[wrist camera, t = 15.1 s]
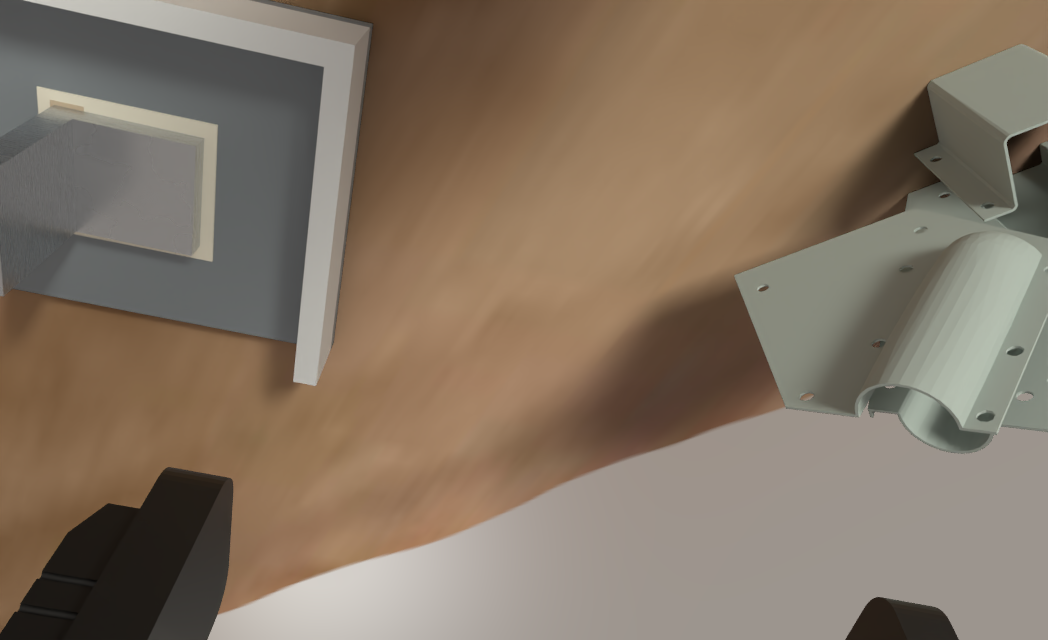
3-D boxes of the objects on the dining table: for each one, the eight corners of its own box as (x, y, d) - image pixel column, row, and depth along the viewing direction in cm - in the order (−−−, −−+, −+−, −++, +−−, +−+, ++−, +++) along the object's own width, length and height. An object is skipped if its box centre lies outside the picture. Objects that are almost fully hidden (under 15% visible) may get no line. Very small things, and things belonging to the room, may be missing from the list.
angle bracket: (59, 216, 45) (-30, 289, 38) (54, 104, 42) (-43, 162, 35) (199, 245, 46) (137, 323, 39) (204, 138, 43) (138, 201, 36)
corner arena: (-71, -77, 39) (-136, -65, 35) (373, 23, 41) (355, 45, 37) (-28, 272, 48) (-77, 311, 44) (333, 342, 50) (315, 385, 46)
